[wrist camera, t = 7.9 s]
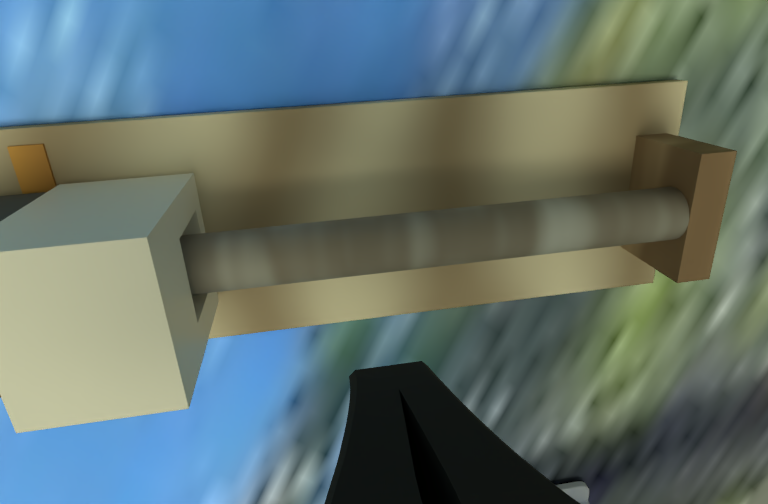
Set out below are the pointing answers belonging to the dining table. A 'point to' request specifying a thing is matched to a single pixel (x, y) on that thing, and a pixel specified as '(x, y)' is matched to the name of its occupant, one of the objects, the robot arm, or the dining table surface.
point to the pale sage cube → (101, 303)
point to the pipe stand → (412, 197)
